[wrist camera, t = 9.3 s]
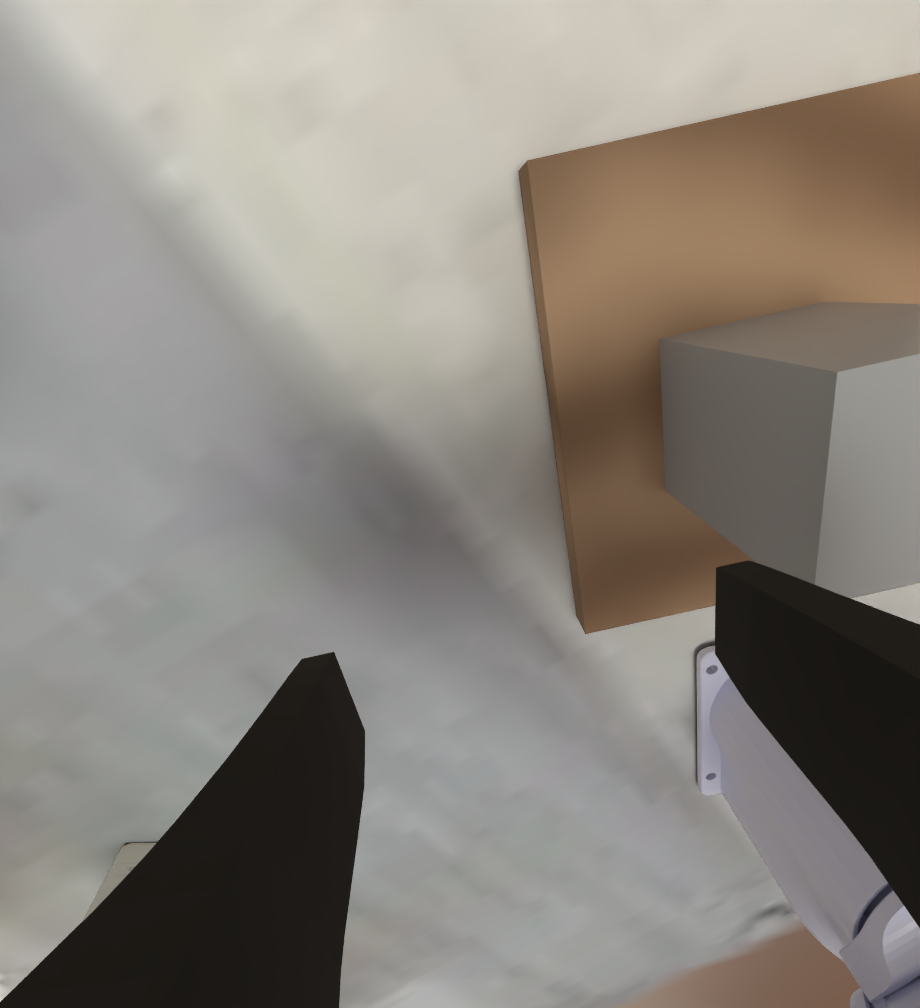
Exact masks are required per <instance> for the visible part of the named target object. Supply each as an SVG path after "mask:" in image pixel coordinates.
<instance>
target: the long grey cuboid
mask: <svg viewBox="0 0 920 1008" xmlns="http://www.w3.org/2000/svg"><path fill="white" fill-rule="evenodd" d="M660 362H661V389H662V416H663V443H664V470H665V491H666V492H668V493H669V494H670V495H672V496H673V497H674V498H675V499H677V500H678V501H679V502H680V503H682V504H683V505H684V506H685V507H687V508H688V509H689V510H691V511H692V512H693V513H694V514H696V515H697V516H698V517H699V518H701V519H702V520H703V521H704V522H706V523H707V524H708V525H710V526H711V527H712V528H713V529H715V530H716V531H717V532H718V533H720V534H721V535H722V536H723V537H725V538H726V539H727V540H729V541H730V542H731V543H732V544H734V545H735V546H736V547H737V548H739V549H740V550H741V551H742V552H744V553H745V554H746V555H748V556H749V557H750V558H751V559H753V560H754V561H755V562H756V563H759V564H762V565H765V566H767V567H770V568H773V569H776V570H778V571H781V572H784V573H786V574H789V575H791V576H794V577H797V578H799V579H802V580H804V581H807V582H809V583H812V584H814V585H817V586H819V587H822V588H825V589H827V590H830V591H832V592H835V593H837V594H840V595H842V596H845V597H847V598H854V597H858V596H863V595H867V594H872V593H876V592H881V591H885V590H890V589H894V588H899V587H903V586H908V585H912V584H917V583H920V304H902V303H858V302H820V303H816V304H812V305H807V306H803V307H798V308H794V309H789V310H785V311H780V312H776V313H771V314H767V315H763V316H758V317H754V318H749V319H745V320H740V321H736V322H731V323H727V324H722V325H718V326H714V327H709V328H705V329H700V330H696V331H691V332H687V333H682V334H678V335H674V336H669V337H665V338H660Z"/></svg>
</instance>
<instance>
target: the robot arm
mask: <svg viewBox="0 0 920 1008" xmlns="http://www.w3.org/2000/svg"><path fill="white" fill-rule="evenodd" d="M709 666H710V667H709ZM708 667H709V668H708ZM697 765H698V788H699V790H700V792H701V793H702V794H703V795H706V796H712V795H716V794H721V793H722V794H723V795H724V797H725V799H726V800H727V802H728V804H729V805H730V807H731V808H732V810H733V812H734V813H735V815H736V817H737V818H738V820H739V821H740V823H741V825H742V826H743V828H744V830H745V831H746V833H747V834H748V836H749V838H750V839H751V841H752V843H753V844H754V846H755V847H756V849H757V851H758V852H759V854H760V856H761V857H762V859H763V861H764V862H765V864H766V865H767V867H768V869H769V870H770V872H771V874H772V875H773V877H774V878H775V880H776V882H777V883H778V885H779V887H780V888H781V890H782V891H783V893H784V895H785V896H786V898H787V900H788V901H789V903H790V904H791V906H792V908H793V909H794V911H795V913H796V914H797V915H798V917H799V918H800V920H801V921H802V922H803V924H804V925H805V926H806V928H807V929H808V930H809V931H810V932H811V933H812V934H813V935H814V936H815V938H816V939H817V940H818V941H820V942H821V944H823V945H824V946H825V947H826V948H827V949H828V950H829V951H831V952H832V953H833V954H834V955H836V956H837V957H838V958H840V959H841V960H842V961H844V962H845V964H846V965H847V967H848V968H849V970H850V972H851V973H852V975H853V976H854V978H855V979H856V981H857V983H858V984H859V986H860V987H861V988H860V989H859V990H857V991H855V992H854V993H853V994H852V997H851V1000H850V1008H920V625H919V624H916V623H914V622H911V621H908V620H905V619H903V618H900V617H897V616H895V615H892V614H889V613H887V612H884V611H881V610H879V609H876V608H873V607H871V606H868V605H866V604H863V603H860V602H858V601H855V600H853V599H850V598H847V597H845V596H842V595H840V594H837V593H835V592H832V591H830V590H827V589H825V588H822V587H819V586H817V585H814V584H812V583H809V582H807V581H804V580H802V579H799V578H797V577H794V576H791V575H789V574H786V573H784V572H781V571H778V570H776V569H773V568H770V567H767V566H765V565H762V564H759V563H756V562H753V561H749V560H747V561H743V562H738V563H734V564H729V565H725V566H720V567H716V610H715V646H710V647H706V648H704V649H702V650H701V651H700V652H699V653H698V655H697ZM364 769H365V730H364V727H363V725H362V722H361V720H360V717H359V715H358V712H357V710H356V707H355V704H354V702H353V699H352V697H351V694H350V692H349V689H348V687H347V684H346V681H345V679H344V676H343V674H342V671H341V669H340V666H339V664H338V661H337V658H336V656H335V653H334V652H332V653H327V654H323V655H318V656H314V657H309V658H305V659H302V660H301V661H300V662H299V663H298V665H297V666H296V667H295V668H294V670H293V671H292V672H291V674H290V675H289V676H288V678H287V679H286V681H285V682H284V683H283V685H282V686H281V687H280V689H279V690H278V691H277V693H276V694H275V695H274V697H273V698H272V700H271V701H270V702H269V704H268V705H267V706H266V708H265V709H264V710H263V712H262V713H261V714H260V716H259V717H258V718H257V720H256V721H255V722H254V724H253V725H252V726H251V728H250V729H249V730H248V732H247V733H246V734H245V736H244V737H243V738H242V740H241V741H240V742H239V744H238V745H237V746H236V748H235V749H234V750H233V751H232V753H231V754H230V755H229V757H228V758H227V759H226V761H225V762H224V763H223V764H222V765H221V767H220V768H219V769H218V770H217V772H216V773H215V774H214V775H213V776H212V778H211V779H210V780H209V781H208V782H207V784H206V785H205V786H204V787H203V789H202V790H201V791H200V792H199V793H198V795H197V796H196V797H195V798H194V800H193V801H192V802H191V803H190V804H189V806H188V807H187V808H186V809H185V811H184V812H183V813H182V814H181V815H180V817H179V818H178V819H177V820H176V821H175V823H174V824H173V825H172V826H171V827H170V828H169V830H168V831H167V832H166V833H165V834H164V835H163V836H162V838H161V839H160V840H159V841H158V842H157V843H156V844H155V845H154V846H153V848H152V849H151V850H150V851H149V852H148V853H147V854H146V855H145V857H144V858H143V859H142V860H141V861H140V862H139V863H138V864H137V865H136V866H135V867H134V868H133V869H132V870H131V872H130V873H129V874H128V875H127V876H126V877H125V878H124V879H123V880H122V881H121V882H120V883H119V884H118V885H117V887H116V888H115V889H114V890H113V891H112V892H111V893H110V894H109V895H108V896H107V897H106V898H105V899H104V900H103V901H102V902H101V903H100V904H99V905H98V907H97V908H96V909H95V910H94V911H93V912H92V913H91V914H90V915H89V916H88V917H87V918H86V919H85V920H84V921H83V922H82V923H81V924H80V925H78V926H77V927H76V928H75V929H74V930H73V931H72V932H71V933H70V934H69V935H68V936H67V937H66V938H65V939H64V940H63V941H62V942H61V943H60V944H59V945H58V946H57V947H56V948H55V949H54V950H53V951H52V952H51V953H50V954H49V955H48V956H47V957H46V958H45V959H44V960H43V961H42V962H41V963H40V964H39V965H38V966H37V967H36V968H35V969H34V970H33V971H32V972H31V973H30V974H29V975H28V976H27V977H25V978H24V979H23V980H22V981H21V982H20V983H19V984H18V985H17V986H16V987H15V988H14V989H13V990H12V991H11V992H10V993H9V994H8V995H7V996H6V997H5V998H4V999H3V1000H2V1001H1V1002H0V1008H339V996H340V977H341V965H342V955H343V945H344V935H345V927H346V920H347V913H348V905H349V898H350V890H351V883H352V876H353V868H354V861H355V853H356V846H357V839H358V831H359V823H360V816H361V808H362V800H363V791H364Z"/></svg>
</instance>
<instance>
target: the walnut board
mask: <svg viewBox="0 0 920 1008" xmlns="http://www.w3.org/2000/svg"><path fill="white" fill-rule="evenodd" d="M519 178H520V186H521V194H522V201H523V209H524V217H525V224H526V232H527V240H528V247H529V255H530V263H531V270H532V278H533V286H534V294H535V301H536V309H537V317H538V324H539V332H540V340H541V347H542V355H543V363H544V370H545V378H546V386H547V394H548V401H549V409H550V417H551V424H552V432H553V440H554V447H555V455H556V463H557V470H558V478H559V486H560V493H561V501H562V509H563V517H564V524H565V532H566V540H567V547H568V555H569V563H570V570H571V578H572V586H573V593H574V601H575V609H576V616H577V618H578V620H579V622H580V624H581V626H582V628H583V630H584V632H585V634H588V633H592V632H597V631H601V630H606V629H610V628H615V627H619V626H624V625H629V624H633V623H638V622H642V621H647V620H651V619H656V618H660V617H665V616H669V615H674V614H678V613H683V612H687V611H692V610H696V609H701V608H705V607H710V606H714V605H716V567H720V566H725V565H729V564H734V563H738V562H743V561H747V560H749V561H753V562H755V561H754V560H753V559H751V558H750V557H749V556H748V555H746V554H745V553H744V552H742V551H741V550H740V549H739V548H737V547H736V546H735V545H734V544H732V543H731V542H730V541H729V540H727V539H726V538H725V537H723V536H722V535H721V534H720V533H718V532H717V531H716V530H715V529H713V528H712V527H711V526H710V525H708V524H707V523H706V522H704V521H703V520H702V519H701V518H699V517H698V516H697V515H696V514H694V513H693V512H692V511H691V510H689V509H688V508H687V507H685V506H684V505H683V504H682V503H680V502H679V501H678V500H677V499H675V498H674V497H673V496H672V495H670V494H669V493H668V492H666V491H665V470H664V443H663V416H662V389H661V362H660V338H665V337H669V336H674V335H678V334H682V333H687V332H691V331H696V330H700V329H705V328H709V327H714V326H718V325H722V324H727V323H731V322H736V321H740V320H745V319H749V318H754V317H758V316H763V315H767V314H771V313H776V312H780V311H785V310H789V309H794V308H798V307H803V306H807V305H812V304H816V303H820V302H858V303H902V304H920V73H917V74H913V75H908V76H904V77H900V78H895V79H891V80H886V81H882V82H877V83H873V84H868V85H864V86H859V87H855V88H850V89H846V90H841V91H837V92H832V93H828V94H824V95H819V96H815V97H810V98H806V99H801V100H797V101H792V102H788V103H783V104H779V105H774V106H770V107H765V108H761V109H756V110H752V111H748V112H743V113H739V114H734V115H730V116H725V117H721V118H716V119H712V120H707V121H703V122H698V123H694V124H689V125H685V126H680V127H676V128H672V129H667V130H663V131H658V132H654V133H649V134H645V135H640V136H636V137H631V138H627V139H622V140H618V141H613V142H609V143H604V144H600V145H596V146H591V147H587V148H582V149H578V150H573V151H569V152H564V153H560V154H555V155H551V156H546V157H542V158H537V159H533V160H529V161H527V162H526V163H525V164H524V165H523V166H522V168H521V169H520V170H519Z"/></svg>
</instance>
